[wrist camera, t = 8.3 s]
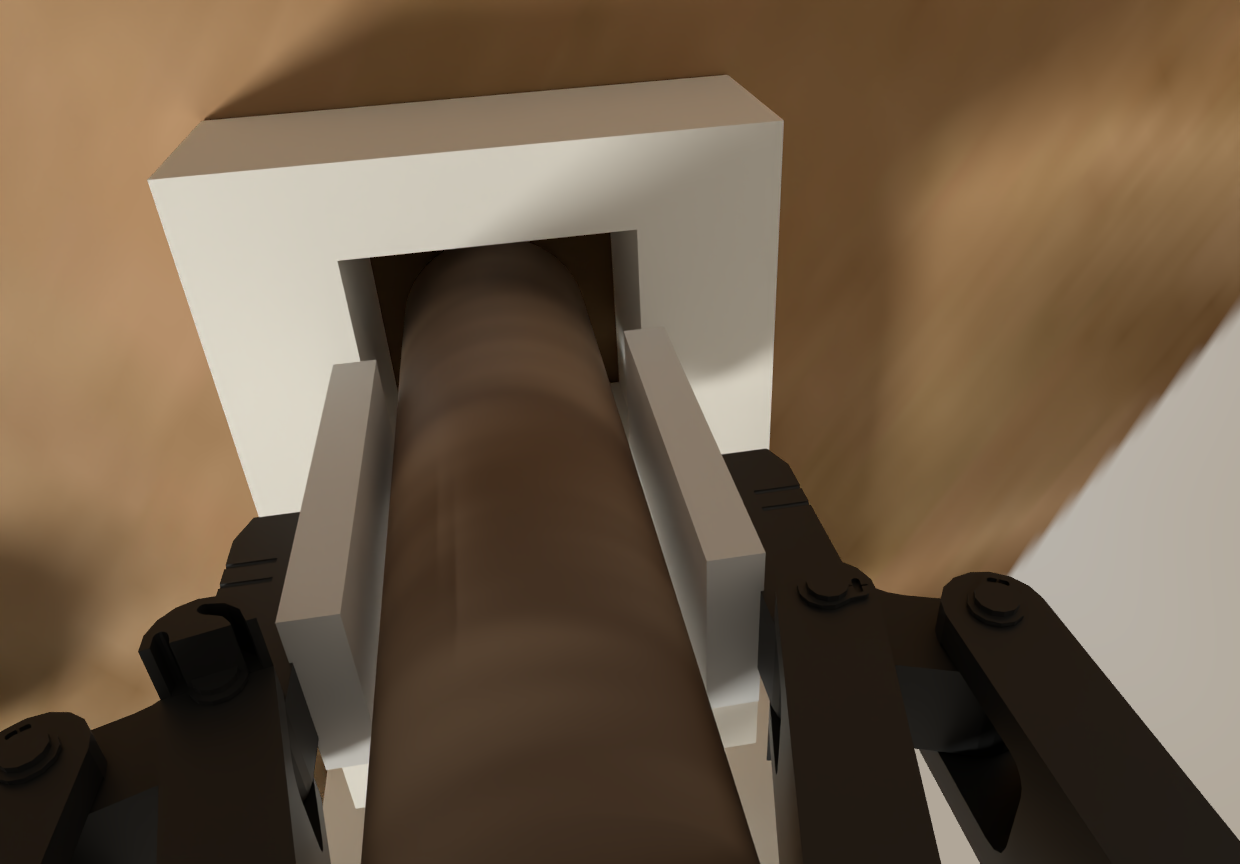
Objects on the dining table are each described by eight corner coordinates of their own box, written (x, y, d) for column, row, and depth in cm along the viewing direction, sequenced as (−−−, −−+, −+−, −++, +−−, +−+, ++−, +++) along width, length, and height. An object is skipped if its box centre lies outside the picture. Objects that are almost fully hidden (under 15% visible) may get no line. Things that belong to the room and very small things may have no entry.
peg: (421, 410, 21) (396, 1086, 10) (388, 247, 19) (307, 865, 8) (591, 389, 22) (763, 1012, 10) (579, 227, 20) (779, 780, 8)
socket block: (200, 120, 19) (148, 179, 15) (727, 74, 20) (783, 120, 17) (366, 693, 28) (355, 808, 25) (721, 640, 29) (756, 742, 26)
